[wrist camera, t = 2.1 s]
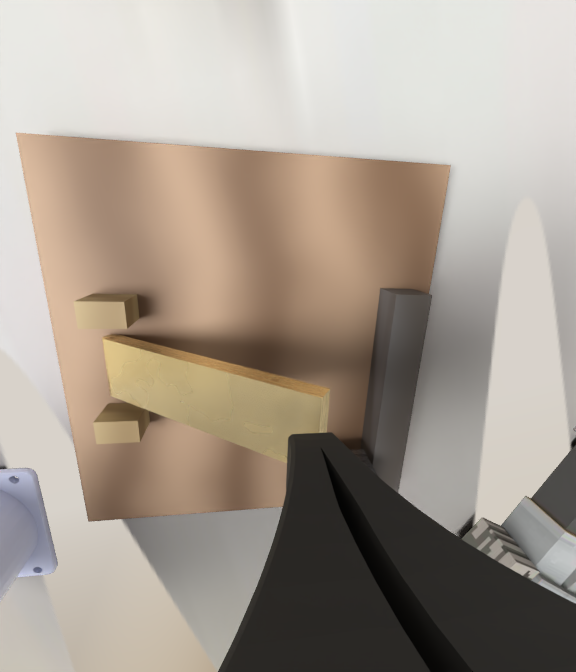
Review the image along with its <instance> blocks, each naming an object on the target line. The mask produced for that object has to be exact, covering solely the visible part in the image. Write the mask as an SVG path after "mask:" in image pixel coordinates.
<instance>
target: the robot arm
mask: <svg viewBox="0 0 576 672" xmlns="http://www.w3.org/2000/svg"><path fill="white" fill-rule="evenodd" d="M14 476H16V477H18V478H19V479H18V478H15V477H14ZM57 565H58V562H57V558H56V554H55V550H54V545H53V541H52V537H51V532H50V528H49V524H48V520H47V516H46V511H45V507H44V503H43V498H42V494H41V490H40V486H39V481H38V477H37V474H36V472H35V471H34V470H32V469H30V468H18V469H17V468H16V469H0V602H1V600H2V599H3V597H4V596H5V594H6V593H7V591H8V589H9V588H10V586H11V585H12V583H13V582H14V580H15V579H16V577H25V576H35V575H46V574H51V573H53V572H54V571H55V569H56V567H57ZM218 672H576V603H573V602H571V601H570V600H568V599H566V598H564V597H562V596H560V595H558V594H556V593H554V592H552V591H550V590H548V589H547V588H545V587H543V586H541V585H539V584H537V583H535V582H533V581H532V580H530V579H528V578H526V577H524V576H522V575H520V574H519V573H517V572H515V571H513V570H512V569H510V568H508V567H506V566H505V565H503V564H501V563H499V562H498V561H496V560H494V559H493V558H491V557H489V556H488V555H486V554H485V553H483V552H481V551H480V550H478V549H476V548H475V547H473V546H471V545H470V544H468V543H467V542H465V541H463V540H462V539H460V538H459V537H457V536H456V535H454V534H453V533H451V532H450V531H448V530H447V529H445V528H444V527H443V526H441V525H440V524H438V523H437V522H435V521H434V520H433V519H431V518H430V517H428V516H427V515H426V514H424V513H423V512H421V511H420V510H419V509H417V508H416V507H415V506H413V505H412V504H411V503H410V502H408V501H407V500H406V499H405V498H403V497H402V496H401V495H400V494H398V493H397V492H396V491H395V490H394V489H392V488H391V487H390V486H389V485H388V484H386V483H385V482H384V481H383V480H382V479H381V478H379V477H378V476H377V475H376V474H375V473H374V472H373V471H372V470H371V469H370V468H368V467H367V466H366V465H365V464H364V463H363V462H362V461H361V460H360V459H359V458H358V457H357V456H356V455H355V454H354V453H353V452H352V451H351V450H350V449H348V448H347V447H346V446H345V445H344V444H343V443H342V442H341V441H340V440H339V439H338V438H337V437H336V436H335V435H334V434H333V433H332V432H326V433H304V434H292V435H290V436H289V437H288V452H287V475H286V495H285V500H284V504H283V509H282V513H281V516H280V520H279V524H278V527H277V531H276V534H275V537H274V540H273V543H272V546H271V549H270V552H269V555H268V558H267V561H266V563H265V566H264V569H263V572H262V574H261V577H260V580H259V582H258V585H257V587H256V590H255V592H254V594H253V597H252V599H251V601H250V604H249V606H248V608H247V611H246V613H245V615H244V618H243V620H242V622H241V625H240V627H239V629H238V632H237V634H236V636H235V638H234V640H233V642H232V645H231V647H230V649H229V651H228V653H227V655H226V657H225V659H224V661H223V663H222V665H221V667H220V669H219V671H218Z"/></svg>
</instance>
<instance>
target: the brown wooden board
mask: <svg viewBox="0 0 576 672" xmlns="http://www.w3.org/2000/svg"><path fill="white" fill-rule="evenodd" d="M16 136H17V141H18V147H19V152H20V157H21V163H22V168H23V173H24V179H25V184H26V190H27V195H28V200H29V206H30V211H31V216H32V222H33V227H34V232H35V238H36V243H37V248H38V254H39V259H40V265H41V270H42V275H43V281H44V286H45V291H46V297H47V302H48V307H49V313H50V318H51V323H52V329H53V334H54V340H55V345H56V350H57V356H58V361H59V366H60V372H61V377H62V382H63V388H64V393H65V398H66V404H67V409H68V415H69V420H70V425H71V431H72V436H73V441H74V447H75V452H76V457H77V462H78V468H79V473H80V479H81V484H82V489H83V495H84V500H85V505H86V511H87V516H88V521H101V520H114V519H128V518H141V517H154V516H167V515H180V514H193V513H206V512H219V511H232V510H245V509H258V508H271V507H283V504H284V500H285V495H286V475H287V463H285V462H282V461H279V460H277V459H274V458H272V457H269V456H266V455H264V454H261V453H258V452H256V451H253V450H251V449H248V448H245V447H243V446H240V445H238V444H235V443H232V442H230V441H227V440H224V439H222V438H219V437H217V436H214V435H211V434H209V433H206V432H204V431H201V430H198V429H196V428H193V427H190V426H188V425H185V424H183V423H180V422H177V421H175V420H172V419H170V418H167V417H164V416H162V415H159V414H156V413H154V412H151V411H149V410H146V409H143V408H141V407H138V406H135V405H133V404H130V403H128V402H125V401H122V400H120V399H117V398H115V397H112V396H110V391H109V384H108V377H107V370H106V363H105V356H104V349H103V342H102V337H103V336H106V335H113V334H117V335H122V336H126V337H129V338H133V339H137V340H141V341H145V342H149V343H153V344H157V345H161V346H165V347H169V348H173V349H177V350H181V351H185V352H189V353H193V354H197V355H200V356H204V357H208V358H212V359H216V360H220V361H224V362H228V363H232V364H236V365H240V366H244V367H248V368H252V369H256V370H260V371H264V372H268V373H271V374H275V375H279V376H283V377H287V378H291V379H295V380H299V381H303V382H307V383H311V384H315V385H319V386H323V387H327V388H331V389H330V401H329V412H328V424H327V432H332V433H333V434H334V435H335V436H336V437H337V438H338V439H339V440H340V441H341V442H342V443H343V444H344V445H345V446H346V447H347V448H348V449H350V450H358V449H363V450H364V451H365V453H366V455H367V457H368V458H369V460H370V462H371V464H372V466H373V467H374V469H375V471H376V473H377V475H378V476H379V478H381V479H382V480H383V481H384V482H385V483H386V484H388V485H389V486H390V487H391V488H392V489H394V490H395V491H396V492H397V493H398V489H399V483H400V478H401V472H402V466H403V460H404V455H405V449H406V443H407V437H408V431H409V426H410V420H411V414H412V408H413V402H414V397H415V391H416V385H417V379H418V373H419V368H420V362H421V356H422V350H423V344H424V339H425V333H426V327H427V321H428V315H429V310H430V304H431V298H432V295H430V294H429V290H430V284H431V279H432V273H433V267H434V261H435V255H436V249H437V243H438V237H439V231H440V225H441V220H442V214H443V208H444V202H445V196H446V190H447V184H448V178H449V172H450V166H451V165H439V164H426V163H412V162H399V161H386V160H372V159H359V158H346V157H332V156H319V155H306V154H292V153H279V152H266V151H252V150H239V149H226V148H212V147H199V146H186V145H172V144H159V143H146V142H132V141H119V140H106V139H92V138H79V137H66V136H52V135H39V134H26V133H16Z"/></svg>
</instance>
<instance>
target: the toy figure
mask: <svg viewBox="0 0 576 672" xmlns="http://www.w3.org/2000/svg"><path fill="white" fill-rule="evenodd" d="M574 430H575V431H576V427H575V428H574ZM462 540H463V541H465V542H467V543H468V544H470V545H471V546H473V547H475V548H476V549H478V550H480V551H481V552H483V553H485V554H486V555H488V556H489V557H491V558H493V559H494V560H496V561H498V562H499V563H501V564H503V565H505V566H506V567H508V568H510V569H512V570H513V571H515V572H517V573H519V574H520V575H522V576H524V577H526V578H528V579H530V580H532V581H533V582H535V583H537V584H539V585H541V586H543V587H545V588H547V589H548V590H550V591H552V592H554V593H556V594H558V595H560V596H562V597H564V598H566V599H568V600H570V601H571V602H573V603H576V445H575V446H574V447H573V448H572V450H571V451H570V452H569V453H568V455H567V456H566V457H565V458H564V459H563V461H562V462H561V463H560V464H559V465H558V467H557V468H556V469H555V470H554V471H553V473H552V474H551V475H550V476H549V477H548V479H547V480H546V481H545V482H544V483H543V485H542V486H541V487H540V488H539V490H538V491H537V492H536V493H535V494H534V496H533V497H532V498H529V497H527V496H525V497H524V498H523V500H522V501H521V502H520V503H519V504H518V506H517V507H516V508H515V509H514V511H513V512H512V513H511V514H510V516H509V517H508V518H507V519H506V520H505V522H504V523H503V524H502V525H501V526H500V525H498V524H495V523H493V522H491V521H489V520H487V519H485V518H481V519H480V520H479V521H478V522H477V523H476V524H475V525H474V526H473V527H472V528H471V529H470V530H469V531H468V532H467V533H466V535H465V536H464V537H463V538H462Z"/></svg>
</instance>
